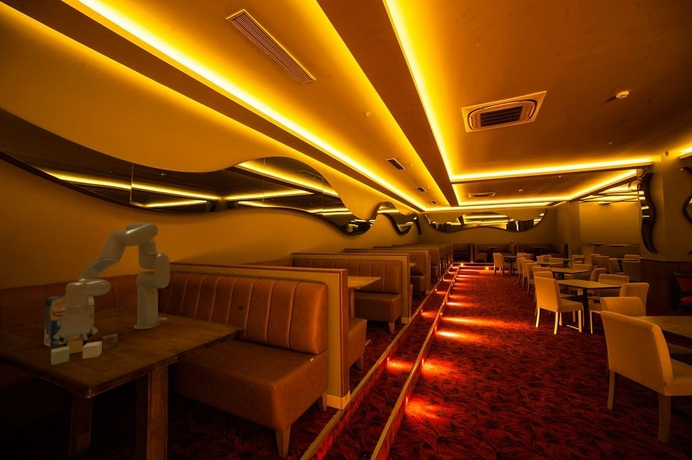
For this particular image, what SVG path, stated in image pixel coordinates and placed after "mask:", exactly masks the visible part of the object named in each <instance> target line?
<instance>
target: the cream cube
mask: <svg viewBox="0 0 692 460" xmlns="http://www.w3.org/2000/svg"><path fill="white" fill-rule="evenodd" d="M102 350H103V340H101V341H93V342H88V343H87V344H86V345H85V346H83V351H82V360H84V359H85V360H86V359H91V358H98V357H99V356H100V355H101V354H102V352H103V351H102Z"/></svg>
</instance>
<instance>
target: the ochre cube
mask: <svg viewBox="0 0 692 460" xmlns="http://www.w3.org/2000/svg"><path fill="white" fill-rule="evenodd" d="M83 341H84V337H83V336H82V337H80V338H75V339H70V340H69V341H68V342H67V346H68V347H69V355H71V354H75V353H83Z"/></svg>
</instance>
